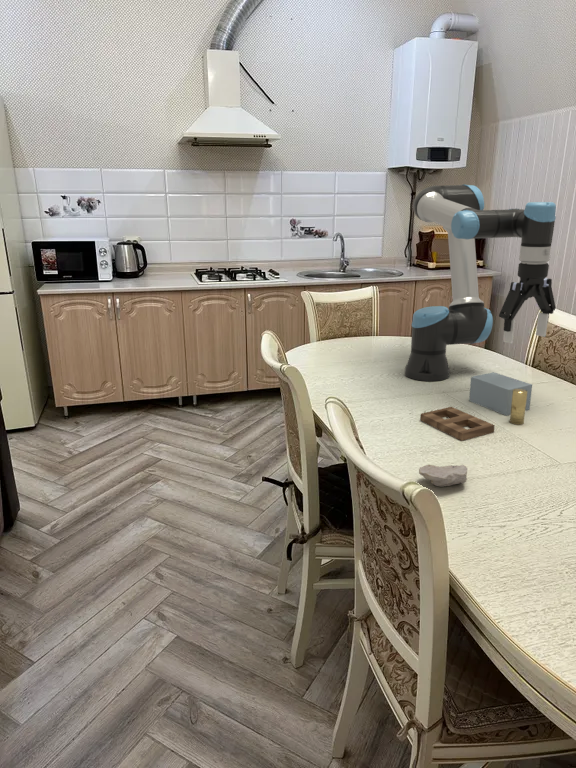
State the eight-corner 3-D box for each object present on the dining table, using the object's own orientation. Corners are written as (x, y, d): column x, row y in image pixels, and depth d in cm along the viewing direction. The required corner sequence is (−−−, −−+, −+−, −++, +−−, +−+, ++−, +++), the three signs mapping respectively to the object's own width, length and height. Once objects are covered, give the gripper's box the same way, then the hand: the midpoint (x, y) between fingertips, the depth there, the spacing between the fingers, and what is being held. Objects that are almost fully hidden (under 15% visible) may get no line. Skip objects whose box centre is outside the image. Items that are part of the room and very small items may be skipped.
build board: (420, 420, 153) (420, 413, 152) (450, 413, 157) (451, 406, 157) (461, 440, 139) (462, 433, 138) (493, 432, 144) (494, 425, 143)
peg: (506, 421, 151) (509, 390, 148) (516, 418, 152) (519, 387, 149) (517, 425, 147) (520, 393, 145) (526, 423, 149) (530, 391, 146)
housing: (469, 400, 167) (471, 376, 164) (491, 395, 171) (493, 372, 168) (506, 415, 155) (508, 389, 152) (529, 409, 158) (532, 384, 156)
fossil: (410, 466, 120) (449, 444, 121) (421, 490, 122) (458, 468, 123) (431, 481, 112) (471, 457, 113) (441, 506, 114) (481, 482, 115)
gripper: (513, 267, 140) (504, 348, 146) (576, 260, 151) (565, 335, 158) (490, 264, 146) (482, 342, 153) (552, 257, 157) (542, 330, 164)
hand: (524, 339), depth 155 cm, fingers open, 13 cm apart
